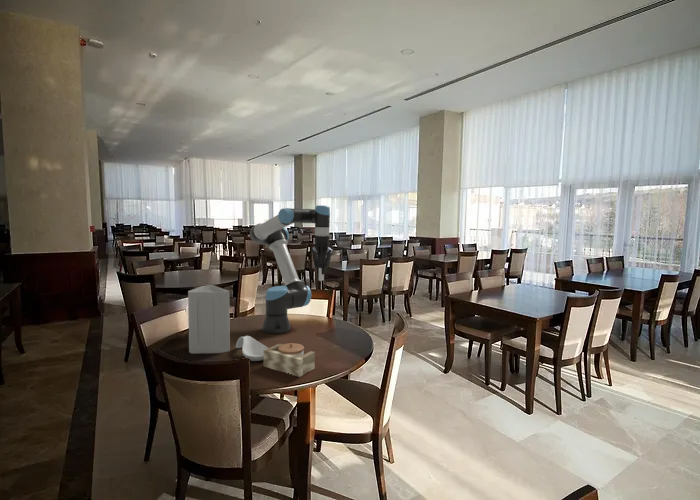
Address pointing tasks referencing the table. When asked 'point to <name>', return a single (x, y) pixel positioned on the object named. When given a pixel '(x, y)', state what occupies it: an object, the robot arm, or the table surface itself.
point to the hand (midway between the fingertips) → (321, 280)
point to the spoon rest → (251, 348)
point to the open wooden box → (288, 361)
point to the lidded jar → (292, 349)
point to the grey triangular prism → (209, 320)
